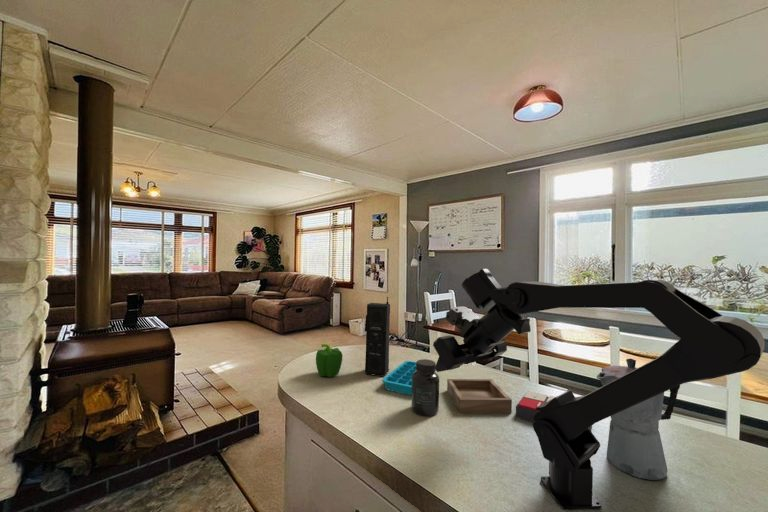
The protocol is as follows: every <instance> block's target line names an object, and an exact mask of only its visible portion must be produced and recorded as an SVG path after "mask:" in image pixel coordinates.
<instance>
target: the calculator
mask: <svg viewBox="0 0 768 512" xmlns="http://www.w3.org/2000/svg"><path fill="white" fill-rule="evenodd" d="M555 397H556V396H554V395H549V396H548V394H544V393H540V392H536V391H531V390H528V391H527V392H526V393H525V394H524V395H523V396H522V397H521V399H520V400H519V402H518V403H517V404H516V405H515V417H516V418H518V419H521V420H522V421H526V422H530V423H532V424H533V419H532V418H533V416H534V415H535V414H536V413H537V412H539V411H538V410H537V409H536V407H538V406H540V405H542V404H544V403H546V402H548V401H549V400H551V399H553V398H555ZM589 430H590V431H591V432H592V430H593V426H591V427H590V428H589Z"/></svg>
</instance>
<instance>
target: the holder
mask: <svg viewBox="0 0 768 512" xmlns="http://www.w3.org/2000/svg"><path fill="white" fill-rule="evenodd" d="M446 381H447V383H446V384H447V385H446V387H447V389H446V391H447V393H448V394H449V396H450V398H451V399H452V402H453V403H454V405H455V407H456V409H457V410H458V412H459V413H460V414H480V413H481V414H512V411H513V410H512V408H513V405H512V404H513V399H512V398H511V397H510V396H509V395H508V394H507V393H506V392H505V391H504V390H503V389H502V388H501V387H500V386H499V385H498V384H497V383H496V382H495V381H494V380H493V379H492V378H487V379H483V378H447V380H446Z"/></svg>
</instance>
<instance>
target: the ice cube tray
mask: <svg viewBox="0 0 768 512" xmlns="http://www.w3.org/2000/svg"><path fill="white" fill-rule="evenodd" d="M416 362H417V361H412V360H405V361H403V362H402V363H401V364H399V365H398V366H397V367H396V368H395V369H393V370H392V371H391V372H388V373H387V374H386V375H385V376H383V378H382V380H381V381H382V383H385V384H384V386H385V389H389V390H388V391H390V390H393V391H392V392H394V391H396V392H395V393H399V392H400V393H399V394H403V393H404V394H403V395H409V396H412V375H413V373H414V372H415V371H417V370H416Z"/></svg>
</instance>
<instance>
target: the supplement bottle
mask: <svg viewBox="0 0 768 512" xmlns="http://www.w3.org/2000/svg"><path fill="white" fill-rule="evenodd" d="M415 362H416V370H417V371H415V372H414V373H413V375H412V395H411V402H410V403H411V405H410V407H411V410H412V411H413V413H414V414H416V415H418V416H422V417H432V416H435V415H437V413H439V409H440V407H439V406H440V376H439V374H438V372H437V371H436V369H435V366H436V363H437V362H435V361H434V360H432V359H426V358H425V359H418V360H416V361H415Z"/></svg>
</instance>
